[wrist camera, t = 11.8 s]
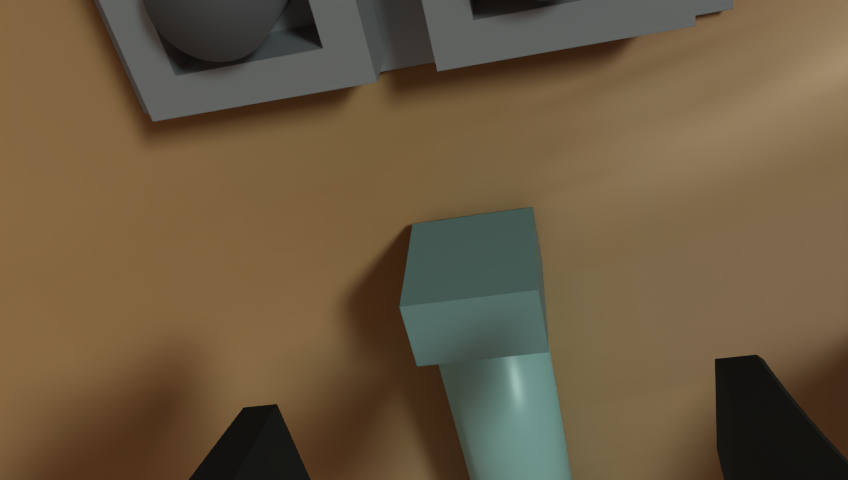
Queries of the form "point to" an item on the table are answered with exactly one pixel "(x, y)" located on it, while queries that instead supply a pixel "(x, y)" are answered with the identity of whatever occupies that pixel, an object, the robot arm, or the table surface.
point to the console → (371, 44)
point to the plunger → (215, 25)
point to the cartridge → (488, 340)
